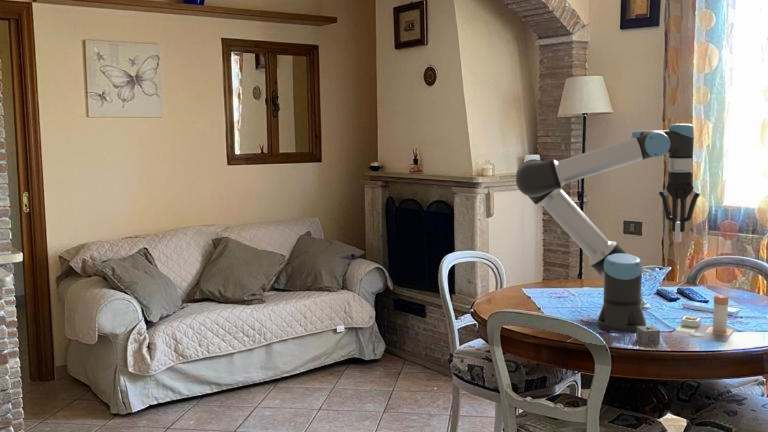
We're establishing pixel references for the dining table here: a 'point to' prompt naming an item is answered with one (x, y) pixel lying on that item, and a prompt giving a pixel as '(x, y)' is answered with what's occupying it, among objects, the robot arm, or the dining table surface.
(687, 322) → the button housing
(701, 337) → the grey flat square panel
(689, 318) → the button
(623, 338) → the dining table surface
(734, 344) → the dining table surface
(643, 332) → the grey smiley picture cube
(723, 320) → the ball
